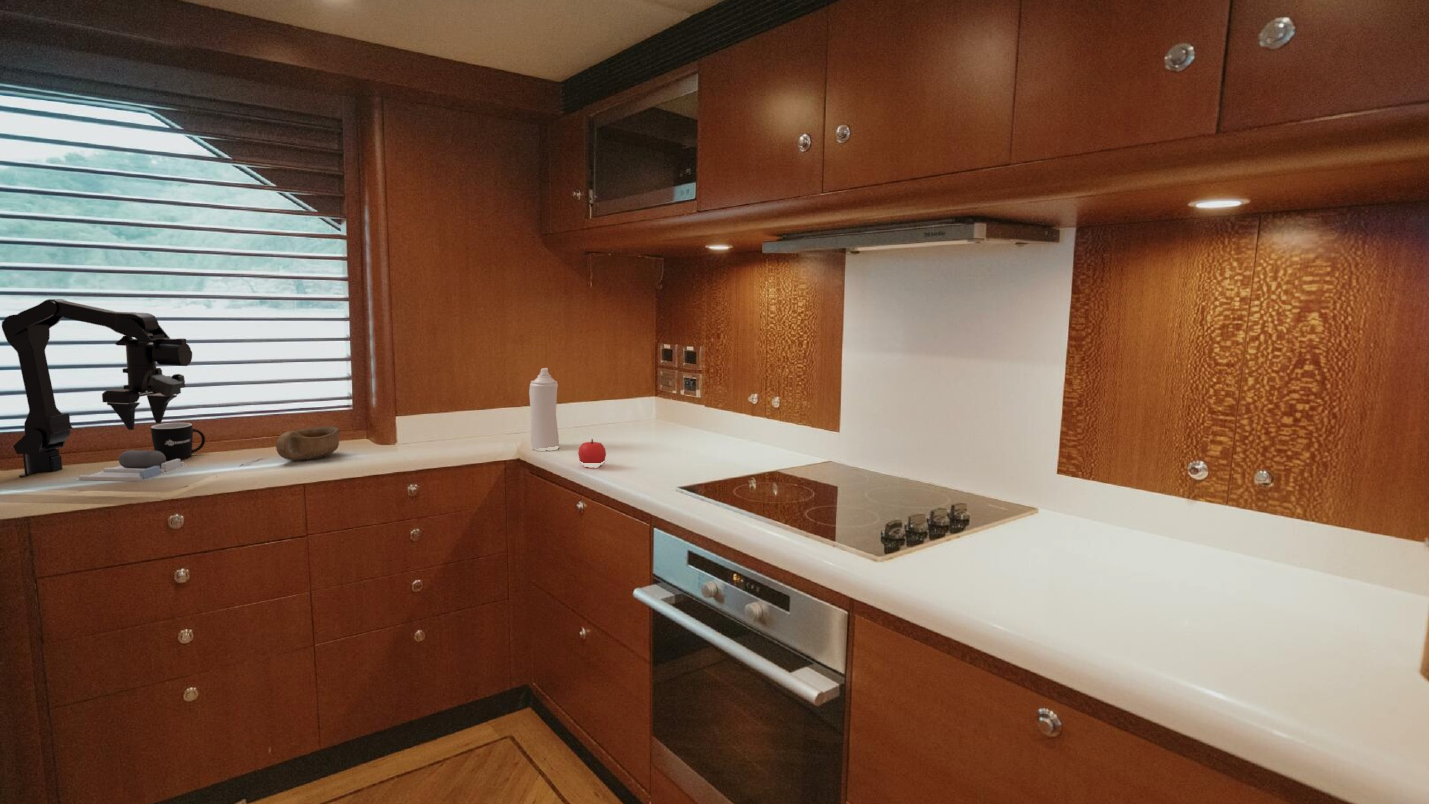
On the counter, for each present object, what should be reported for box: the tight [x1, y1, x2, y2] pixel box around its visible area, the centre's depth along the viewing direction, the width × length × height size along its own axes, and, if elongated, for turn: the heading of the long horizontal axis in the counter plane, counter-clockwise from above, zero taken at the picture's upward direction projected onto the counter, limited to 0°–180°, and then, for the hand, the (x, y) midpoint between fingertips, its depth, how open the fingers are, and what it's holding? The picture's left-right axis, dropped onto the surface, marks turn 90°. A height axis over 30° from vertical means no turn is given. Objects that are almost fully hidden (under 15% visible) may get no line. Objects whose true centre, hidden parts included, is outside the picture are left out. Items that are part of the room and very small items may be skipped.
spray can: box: [528, 367, 560, 450], centre depth 229 cm, size 12×11×25 cm
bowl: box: [275, 426, 340, 461], centre depth 206 cm, size 18×14×10 cm
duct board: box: [74, 459, 189, 482], centre depth 183 cm, size 16×16×3 cm
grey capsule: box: [118, 449, 167, 469], centre depth 186 cm, size 11×5×5 cm, turn 92°
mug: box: [150, 422, 206, 462], centre depth 199 cm, size 12×9×10 cm
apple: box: [577, 438, 607, 463], centre depth 208 cm, size 8×8×8 cm
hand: (145, 426), depth 183 cm, fingers open, 9 cm apart
